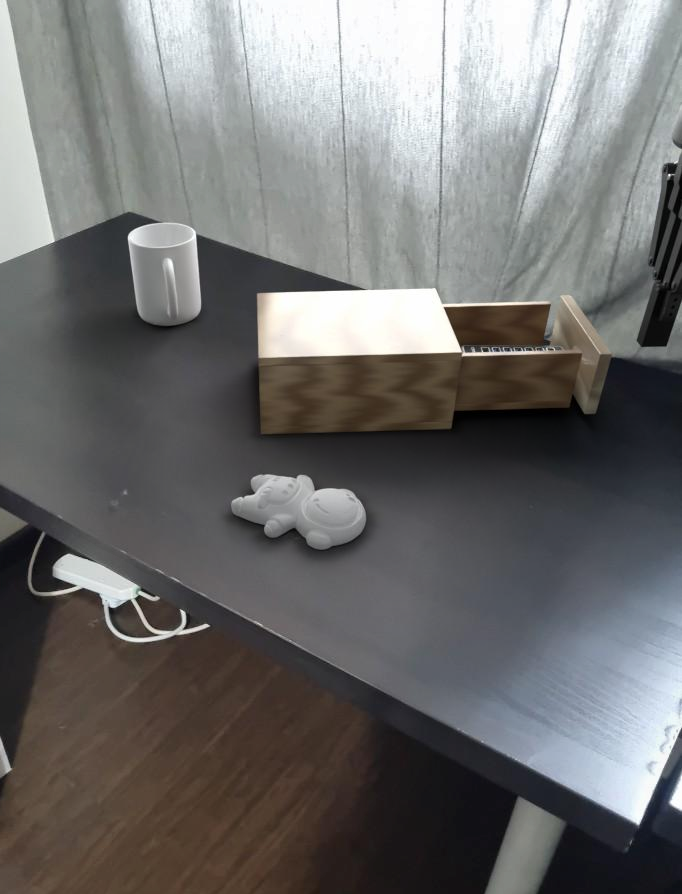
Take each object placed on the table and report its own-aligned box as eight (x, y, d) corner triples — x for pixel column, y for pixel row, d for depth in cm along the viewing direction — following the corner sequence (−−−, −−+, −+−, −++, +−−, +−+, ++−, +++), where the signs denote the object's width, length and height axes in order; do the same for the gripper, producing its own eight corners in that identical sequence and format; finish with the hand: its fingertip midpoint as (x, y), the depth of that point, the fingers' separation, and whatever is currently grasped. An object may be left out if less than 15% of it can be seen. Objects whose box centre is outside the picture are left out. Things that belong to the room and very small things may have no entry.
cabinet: (427, 359, 97) (435, 288, 91) (451, 429, 86) (462, 352, 80) (259, 364, 97) (256, 292, 91) (260, 434, 86) (258, 357, 80)
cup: (197, 295, 111) (191, 219, 105) (210, 336, 102) (204, 256, 96) (135, 302, 110) (125, 225, 103) (143, 343, 101) (132, 262, 94)
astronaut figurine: (268, 471, 81) (267, 446, 79) (380, 509, 76) (382, 482, 74) (219, 521, 75) (217, 495, 73) (337, 565, 70) (338, 538, 68)
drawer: (568, 351, 96) (581, 294, 92) (607, 413, 86) (624, 353, 81) (398, 355, 96) (404, 299, 91) (417, 419, 86) (424, 359, 81)
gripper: (658, 83, 78) (596, 316, 93) (718, 120, 68) (638, 374, 83) (737, 82, 78) (662, 315, 93) (808, 118, 68) (712, 373, 83)
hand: (651, 343), depth 88 cm, fingers closed
